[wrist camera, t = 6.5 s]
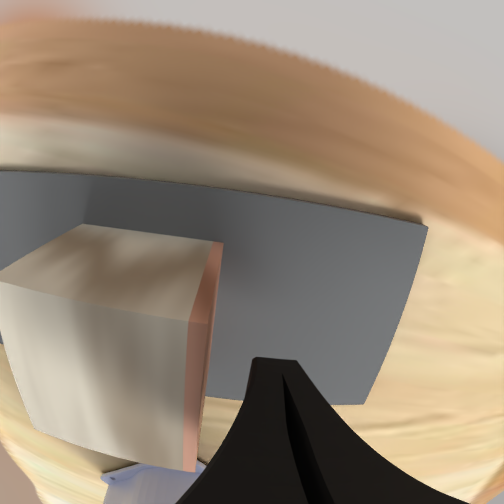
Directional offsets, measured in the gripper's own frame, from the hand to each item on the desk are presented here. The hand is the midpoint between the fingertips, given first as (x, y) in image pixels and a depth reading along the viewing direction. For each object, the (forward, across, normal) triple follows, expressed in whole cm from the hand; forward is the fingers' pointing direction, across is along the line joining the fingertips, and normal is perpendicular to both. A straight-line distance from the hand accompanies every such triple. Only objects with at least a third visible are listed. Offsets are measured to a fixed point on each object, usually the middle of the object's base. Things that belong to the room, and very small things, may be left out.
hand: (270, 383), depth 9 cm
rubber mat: (+5, +4, 0) cm, 7 cm away
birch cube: (+1, +2, 0) cm, 2 cm away
